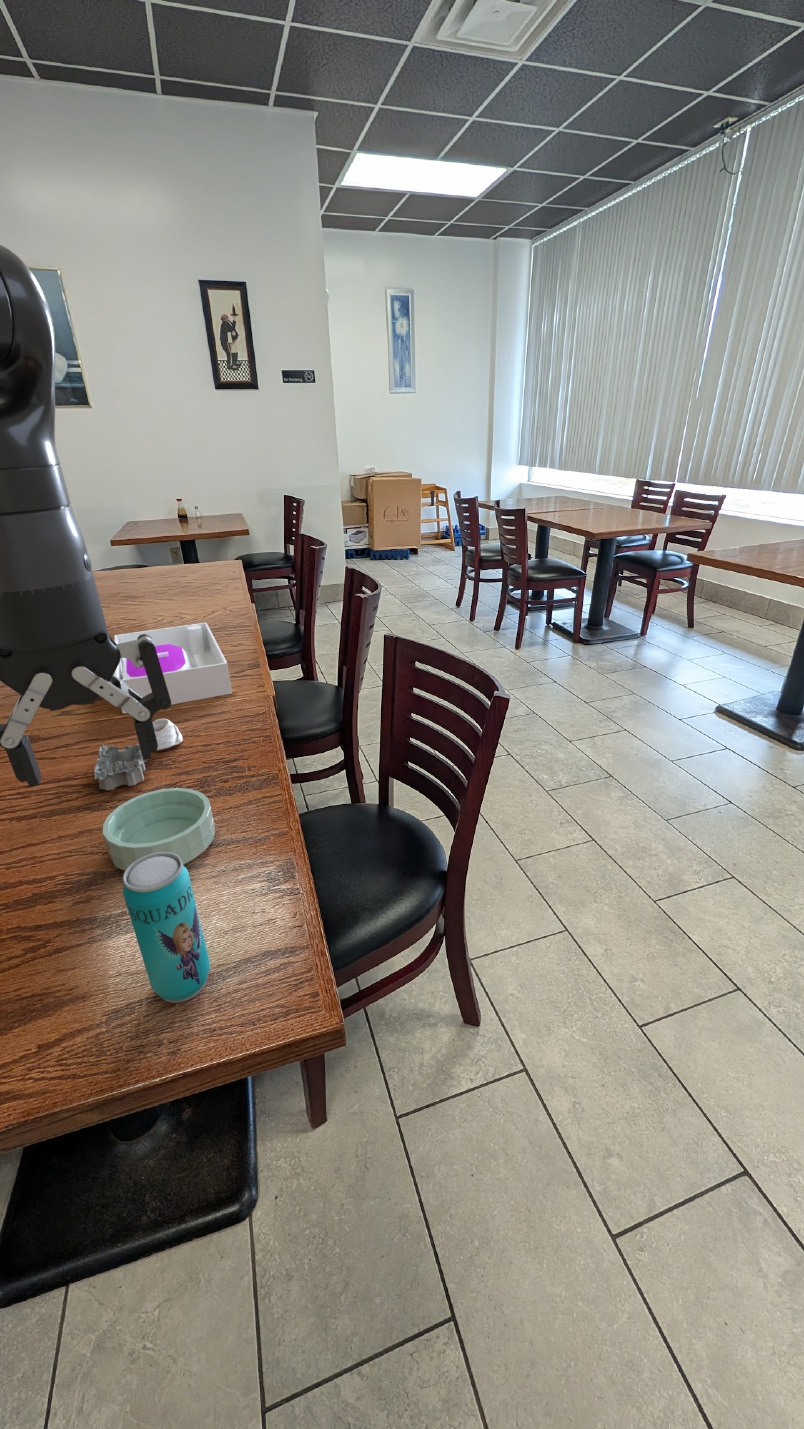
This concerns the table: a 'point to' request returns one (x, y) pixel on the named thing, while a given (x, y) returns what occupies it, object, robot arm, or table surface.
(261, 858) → the table surface
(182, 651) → the white open box
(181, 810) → the bowl
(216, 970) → the table surface
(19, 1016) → the table surface
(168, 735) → the white hollow rounded piece
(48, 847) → the table surface
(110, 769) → the grey sculpture
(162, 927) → the beverage can
